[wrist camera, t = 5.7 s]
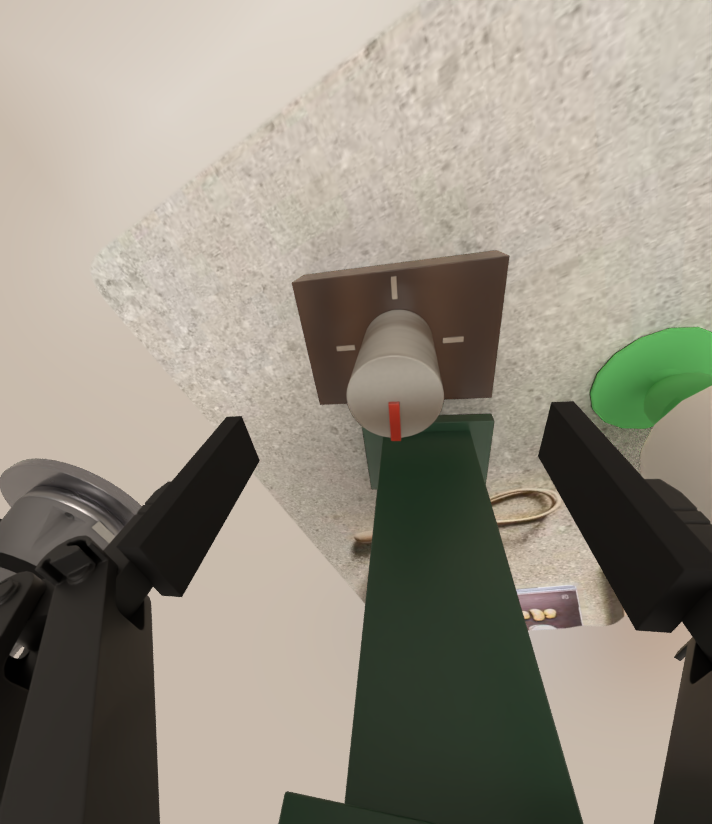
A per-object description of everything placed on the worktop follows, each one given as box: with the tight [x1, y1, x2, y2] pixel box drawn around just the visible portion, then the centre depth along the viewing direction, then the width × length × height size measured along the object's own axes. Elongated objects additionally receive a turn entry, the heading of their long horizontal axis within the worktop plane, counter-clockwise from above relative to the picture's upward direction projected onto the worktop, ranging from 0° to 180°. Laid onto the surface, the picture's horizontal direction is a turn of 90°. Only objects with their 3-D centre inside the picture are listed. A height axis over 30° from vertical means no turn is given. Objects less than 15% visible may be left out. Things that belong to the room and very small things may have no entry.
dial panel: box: [292, 250, 509, 405], centre depth 23 cm, size 14×10×3 cm
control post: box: [278, 414, 583, 824], centre depth 20 cm, size 12×9×26 cm
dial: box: [347, 310, 444, 441], centre depth 19 cm, size 5×5×8 cm
